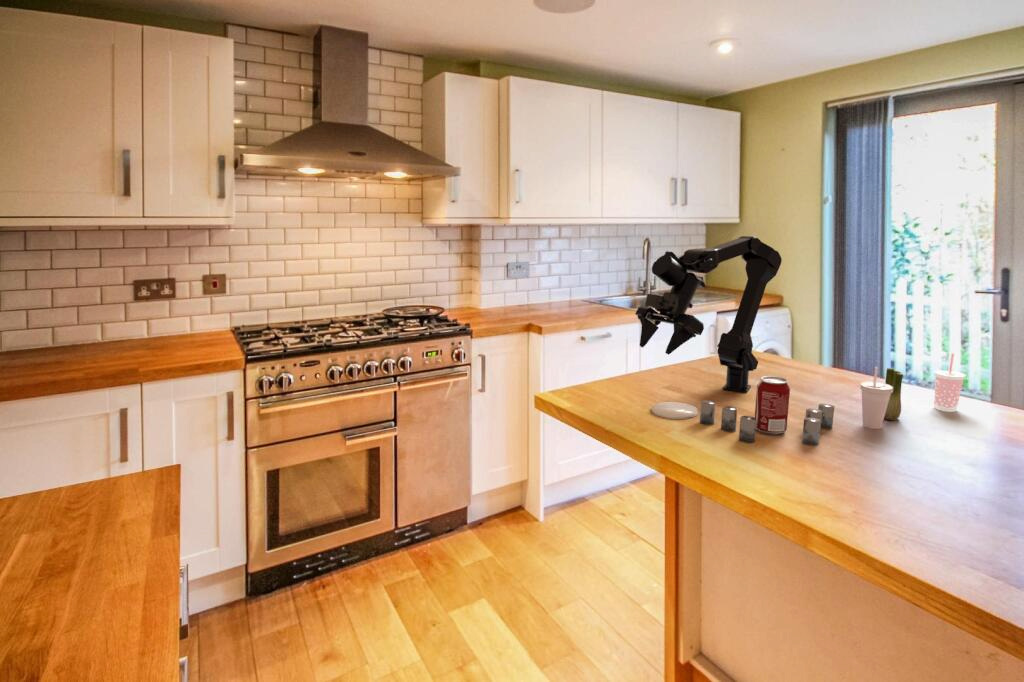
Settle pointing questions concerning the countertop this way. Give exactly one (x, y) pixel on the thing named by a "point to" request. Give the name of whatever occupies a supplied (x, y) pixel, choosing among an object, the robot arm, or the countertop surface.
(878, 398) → the smoothie
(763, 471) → the countertop surface
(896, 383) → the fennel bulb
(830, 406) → the spacer field
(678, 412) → the coaster
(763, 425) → the soda can
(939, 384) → the beverage cup
